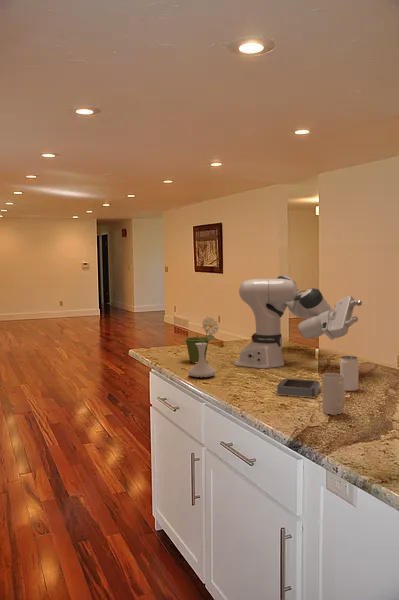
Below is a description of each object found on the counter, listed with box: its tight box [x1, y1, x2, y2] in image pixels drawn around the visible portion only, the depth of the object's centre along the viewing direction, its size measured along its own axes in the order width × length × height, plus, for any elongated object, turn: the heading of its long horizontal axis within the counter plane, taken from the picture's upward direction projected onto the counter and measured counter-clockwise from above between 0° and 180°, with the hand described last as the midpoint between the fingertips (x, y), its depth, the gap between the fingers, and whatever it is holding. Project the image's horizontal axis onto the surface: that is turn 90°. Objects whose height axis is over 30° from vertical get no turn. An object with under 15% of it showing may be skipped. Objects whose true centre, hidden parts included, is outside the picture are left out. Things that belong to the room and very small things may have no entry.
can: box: [339, 355, 359, 392], centre depth 200 cm, size 6×6×12 cm
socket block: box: [275, 378, 322, 399], centre depth 198 cm, size 14×14×3 cm
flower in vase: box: [188, 316, 219, 379], centre depth 225 cm, size 13×11×25 cm
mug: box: [321, 372, 345, 416], centre depth 171 cm, size 10×7×12 cm, turn 15°
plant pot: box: [184, 336, 210, 364], centre depth 254 cm, size 12×12×11 cm
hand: (359, 310), depth 217 cm, fingers open, 8 cm apart
